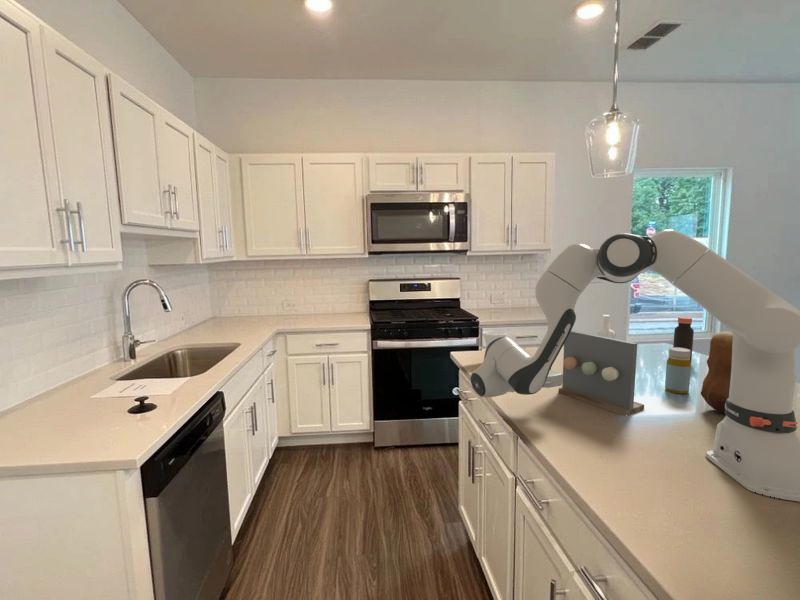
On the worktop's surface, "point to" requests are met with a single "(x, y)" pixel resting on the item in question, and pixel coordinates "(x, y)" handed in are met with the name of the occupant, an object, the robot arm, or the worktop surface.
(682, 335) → the vinegar
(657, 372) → the worktop surface
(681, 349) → the bottle
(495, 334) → the cup
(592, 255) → the robot arm
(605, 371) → the cream button
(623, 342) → the button panel
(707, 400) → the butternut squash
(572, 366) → the terracotta button
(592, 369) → the sage button
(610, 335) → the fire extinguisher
